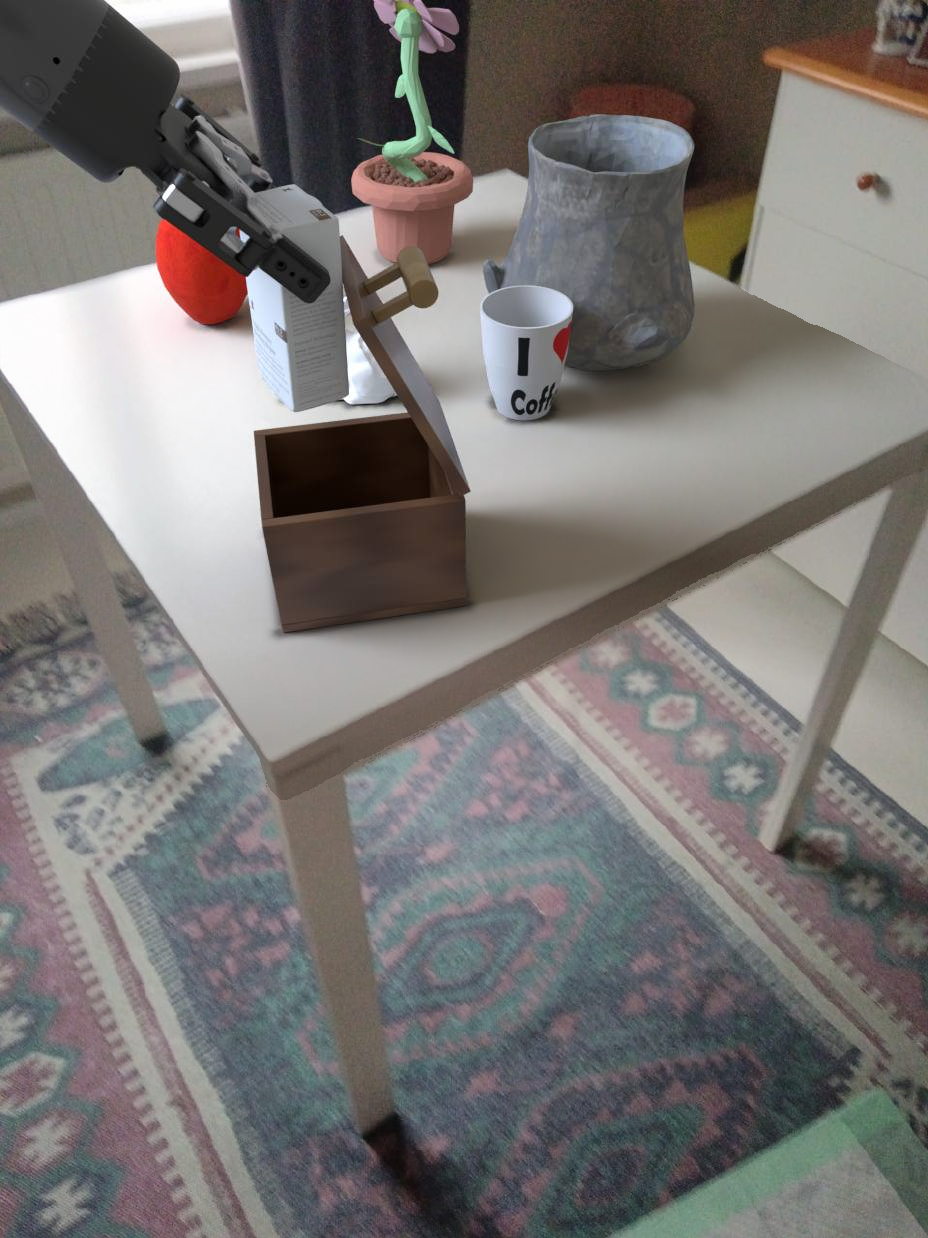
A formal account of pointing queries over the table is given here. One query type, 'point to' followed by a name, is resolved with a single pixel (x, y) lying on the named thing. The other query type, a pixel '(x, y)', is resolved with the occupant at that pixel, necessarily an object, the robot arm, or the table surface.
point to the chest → (358, 522)
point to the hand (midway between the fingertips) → (315, 262)
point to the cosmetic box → (300, 308)
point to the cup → (525, 347)
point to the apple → (198, 277)
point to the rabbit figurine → (364, 371)
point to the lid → (402, 345)
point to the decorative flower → (414, 149)
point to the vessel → (607, 236)
